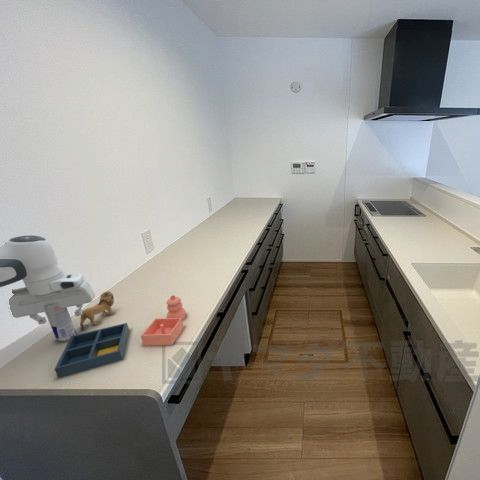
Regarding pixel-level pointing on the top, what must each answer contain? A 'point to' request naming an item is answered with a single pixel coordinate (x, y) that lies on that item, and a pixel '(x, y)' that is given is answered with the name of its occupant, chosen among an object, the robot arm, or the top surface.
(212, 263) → the top surface
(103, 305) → the lion figurine
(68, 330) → the beverage can
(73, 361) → the grid
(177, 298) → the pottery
